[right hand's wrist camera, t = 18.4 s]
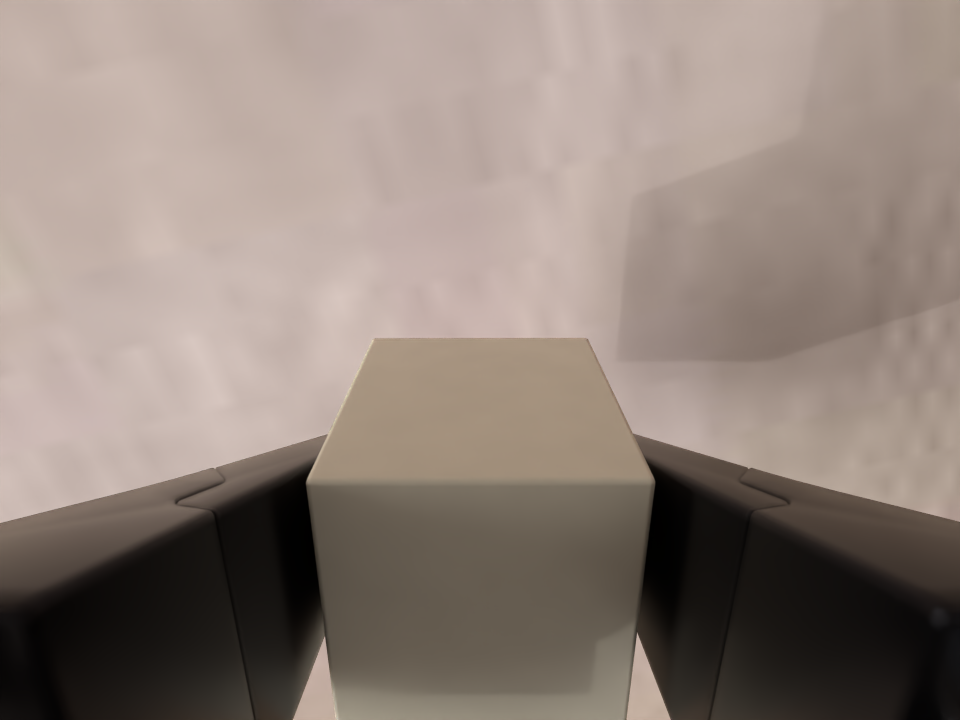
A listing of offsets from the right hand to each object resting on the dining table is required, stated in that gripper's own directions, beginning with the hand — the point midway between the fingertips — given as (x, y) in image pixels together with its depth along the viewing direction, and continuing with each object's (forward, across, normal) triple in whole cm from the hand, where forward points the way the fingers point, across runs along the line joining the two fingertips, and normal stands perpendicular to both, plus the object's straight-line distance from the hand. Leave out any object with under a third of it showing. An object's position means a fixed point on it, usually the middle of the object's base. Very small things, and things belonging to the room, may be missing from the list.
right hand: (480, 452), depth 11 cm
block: (+1, 0, 0) cm, 1 cm away
